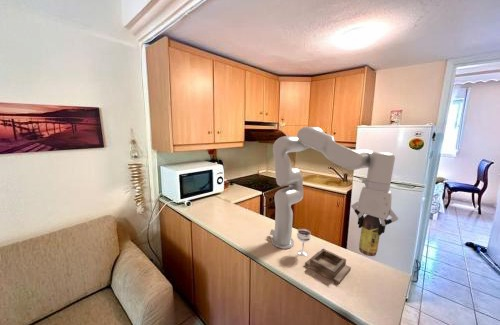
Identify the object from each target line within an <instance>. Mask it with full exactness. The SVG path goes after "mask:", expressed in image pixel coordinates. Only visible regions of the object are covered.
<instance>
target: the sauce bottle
mask: <svg viewBox="0 0 500 325" xmlns="http://www.w3.org/2000/svg"><path fill="white" fill-rule="evenodd" d="M380 224H381V220H380V218H377V217H373V216H370V215H367V214H365V216H364V219H363V224H362V227H361V230H360V237H359V243H358V246H359V247H358V249H359V252H360V253H361V254H362V255H365V256H368V257H375V256H376V255H377V252H378V249H379V243H380V236H381V235H379V234H378V232H379V226H380Z"/></svg>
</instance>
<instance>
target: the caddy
mask: <svg viewBox="0 0 500 325" xmlns="http://www.w3.org/2000/svg"><path fill="white" fill-rule="evenodd" d="M304 266H305V267H307V268H308V269H311V270H312V271H314V272H316V273H318V274H320V275H321V276H322V277H324V278H326V279H328V280H330V281H332V282H333V283H335V284H337V285H340V284H341V283H342V281H343V280H344V279H345V278H346V276H347V275H348V274H349V273H350V271H351V269H352V267H351V266H349V265H347V258H344V257H342V256H340V255H338V254H336V253H334V252H331V251H329V250H327V249H326V248H322V249H321V250H319V251H317V252H316V253H315V254H314V255H313V256H311V257H310V258H309V259H308V260H306V262H304Z"/></svg>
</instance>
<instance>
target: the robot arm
mask: <svg viewBox="0 0 500 325" xmlns="http://www.w3.org/2000/svg"><path fill="white" fill-rule="evenodd" d="M310 148H311V149H313V150H315V151H317V152H319V153H321V154H322V155H323V156H324V157H325V158H326V159H327V160H328V161H330V162H331V163H333V164H335V165H337V166H340V167H341V168H344V169H346V170H348V171H356V170H360V169H367V174H366V179H362V181H361V183H362V184H364V185H363V186H362V188H361V191H360V194H359V198H358V201H357V202H355V203H353V204H351V206H350V207H351V208H352V209H353V211H354V213H355V215H356V216H357V218H358V219H357V225H358V228H359V229H360V228H361V229H362V224H363V219H364V217H365V216H364V215H370V216H373V217H377V218H379V220H380V226H379V232H378V234H379V235H380V236H381V235H382V234H384V233H385V230H386V226H387V225H389V224H392V223H394V222H397V221H398V220H399V217H398V216H397V215H396V214H395V212H394V211H393V210H392V199H393V198H392V191H391V190H390V189H391V182H392V178H393V177H392V176H393V173H394V172H393V171H394V165H395V160H396V156H395V154H394V153H391V152H386V151H374V150H371V149H370V150H369V149H366V148H359V149H358V148H357V149H356V148H355V149H351V148H349V147H347V146H344V145H341V144H340V143H338V142H336V139H335V136H333V135H331V134H329V133H326V132H324V130H323V129H322V128H321V127H318V126H304V127H302V128H300V129H299V130H298V131H297V135H284V136H280V137H279V138H277V139H276V140H275V141H274V142H273V145H272V155H273V159H274V160H273V161H274V168H275V170H274V172H275V181H276V184H277V185H278V186H279V187H283V188H281V189H279V190H277V191H276V192H275V194H274V206H275V207H274V208H275V214H274V215H275V217H274V229H271V230H270V232H269V235H271V236H272V237H271V243H272V245H273V246H274V247H276V248H278V249H281V250H282V249H283V250H284V249H285V250H287V249H291V248H292V247H294V244H295V241H294V239H293V238H292V233H293V218H294V212H293V209H292V205H294V204H297V203H299V202H301V201H302V200H303V198H304V185H303V174H302V172H301V170H300V169H299V168H298V167H293V166H292V165H291V159H290V156H289V153H299V152H302V151H306V150H307V149H310ZM286 186H287V187H286ZM389 216H390V217H391V218H389ZM388 218H389V219H388Z"/></svg>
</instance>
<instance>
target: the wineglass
mask: <svg viewBox="0 0 500 325" xmlns="http://www.w3.org/2000/svg"><path fill="white" fill-rule="evenodd" d="M311 234H312V233H311V231H310V230H309V229H306V228H298V229H297V239H298V240H299V242H302V245H301V246H302V249H300V250H297V254H298V255H299V256H301V257H306V256H308V252H307V251H305V250H304V246H305V243H307V242H309V241H310V240H311V238H312V236H311Z"/></svg>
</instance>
